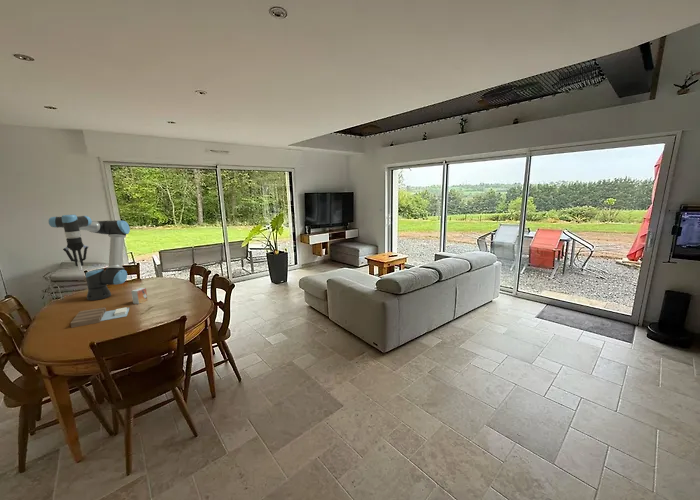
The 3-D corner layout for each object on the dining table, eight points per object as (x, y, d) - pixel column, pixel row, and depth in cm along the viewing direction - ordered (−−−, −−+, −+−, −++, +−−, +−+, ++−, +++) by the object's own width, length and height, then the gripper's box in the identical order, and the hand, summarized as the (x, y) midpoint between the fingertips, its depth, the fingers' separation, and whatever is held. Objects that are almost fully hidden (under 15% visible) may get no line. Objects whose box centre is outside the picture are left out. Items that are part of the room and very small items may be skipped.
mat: (105, 311, 205) (105, 311, 205) (129, 307, 212) (129, 307, 212) (100, 321, 190) (100, 320, 190) (126, 316, 197) (126, 315, 197)
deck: (80, 315, 199) (79, 311, 198) (106, 311, 206) (105, 307, 206) (71, 327, 181) (70, 323, 180) (99, 322, 188) (99, 318, 187)
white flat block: (126, 307, 207) (127, 309, 207) (116, 309, 204) (116, 311, 204) (125, 311, 200) (125, 314, 200) (114, 313, 196) (114, 316, 197)
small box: (138, 304, 219) (136, 291, 217) (133, 303, 220) (130, 290, 218) (148, 300, 227) (146, 287, 225) (142, 299, 228) (140, 287, 226)
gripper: (59, 239, 187) (66, 273, 192) (85, 237, 194) (92, 270, 199) (61, 237, 193) (69, 270, 198) (87, 235, 200) (93, 267, 205)
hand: (80, 270), depth 199 cm, fingers closed
